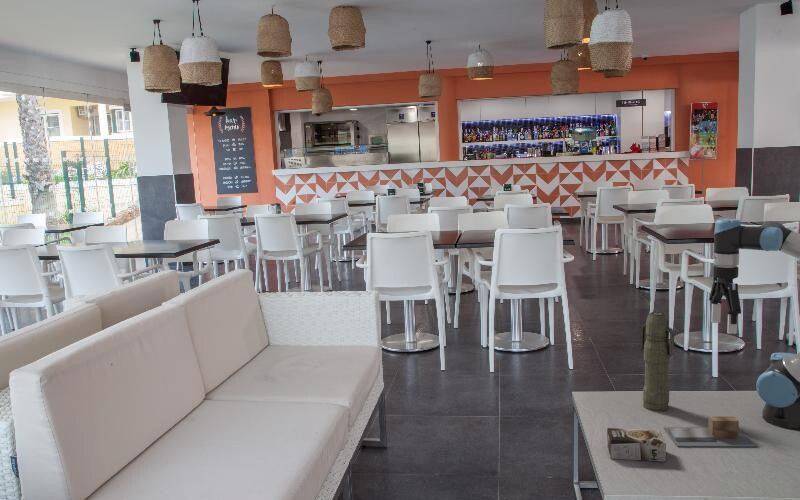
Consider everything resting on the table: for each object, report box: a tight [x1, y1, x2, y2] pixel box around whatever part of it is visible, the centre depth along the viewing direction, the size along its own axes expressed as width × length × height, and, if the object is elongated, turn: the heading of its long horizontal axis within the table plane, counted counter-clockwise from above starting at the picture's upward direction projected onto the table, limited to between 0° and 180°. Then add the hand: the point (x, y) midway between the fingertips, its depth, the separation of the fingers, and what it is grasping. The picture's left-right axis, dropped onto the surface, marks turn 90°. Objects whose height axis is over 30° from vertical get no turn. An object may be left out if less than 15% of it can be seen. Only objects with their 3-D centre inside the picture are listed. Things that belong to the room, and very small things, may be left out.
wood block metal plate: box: [668, 415, 740, 441], centre depth 211 cm, size 20×7×6 cm, turn 85°
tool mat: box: [663, 426, 758, 448], centre depth 212 cm, size 24×14×1 cm, turn 85°
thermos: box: [640, 311, 675, 413], centre depth 236 cm, size 9×12×35 cm
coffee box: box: [606, 427, 667, 462], centre depth 202 cm, size 9×6×16 cm
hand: (723, 327), depth 220 cm, fingers open, 13 cm apart
